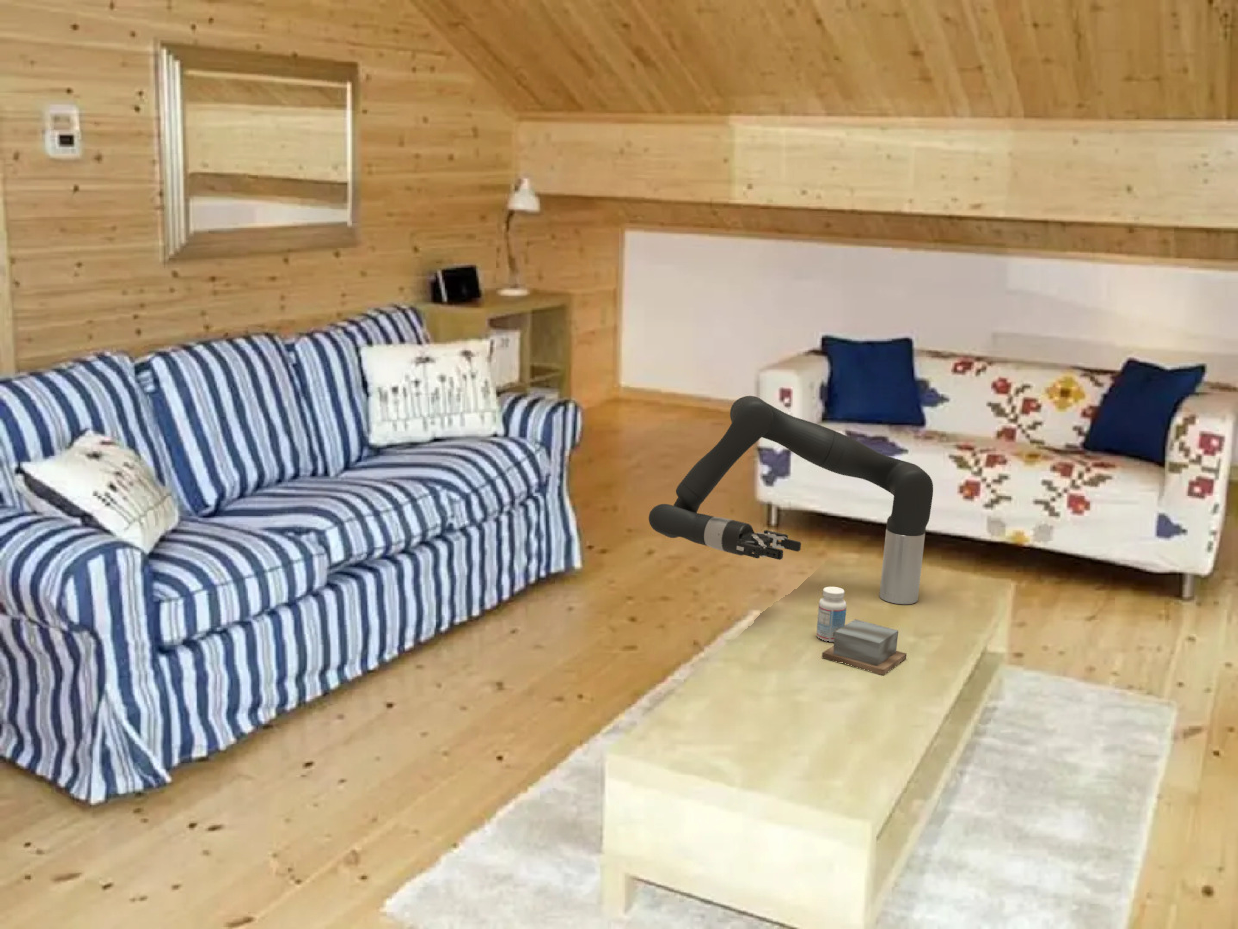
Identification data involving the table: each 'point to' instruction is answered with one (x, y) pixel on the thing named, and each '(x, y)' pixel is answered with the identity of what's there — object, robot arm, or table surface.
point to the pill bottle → (831, 613)
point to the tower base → (866, 647)
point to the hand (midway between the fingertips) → (791, 551)
